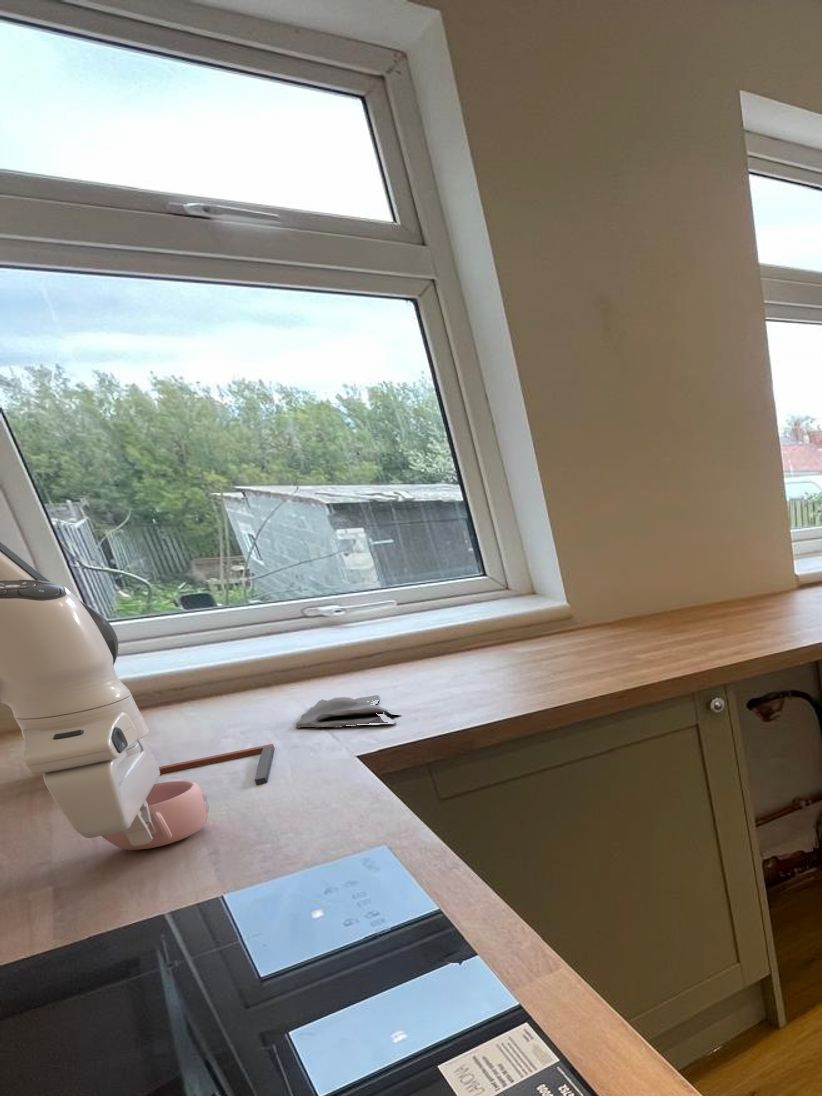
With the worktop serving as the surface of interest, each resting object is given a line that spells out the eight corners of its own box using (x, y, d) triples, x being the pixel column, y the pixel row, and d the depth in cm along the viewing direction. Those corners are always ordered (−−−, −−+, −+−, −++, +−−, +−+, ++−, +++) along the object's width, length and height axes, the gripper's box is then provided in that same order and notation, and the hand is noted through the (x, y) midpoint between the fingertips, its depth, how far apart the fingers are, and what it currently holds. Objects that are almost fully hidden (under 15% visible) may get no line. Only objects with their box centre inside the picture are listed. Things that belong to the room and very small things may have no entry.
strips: (95, 820, 107) (92, 815, 106) (122, 779, 120) (119, 774, 119) (267, 782, 116) (265, 777, 116) (274, 748, 129) (272, 743, 129)
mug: (104, 844, 100) (81, 801, 98) (209, 813, 107) (190, 772, 105) (119, 873, 93) (95, 827, 91) (230, 837, 100) (210, 795, 98)
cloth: (286, 711, 146) (281, 699, 145) (377, 691, 155) (373, 680, 154) (307, 746, 129) (302, 733, 128) (408, 722, 138) (404, 709, 137)
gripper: (71, 712, 95) (126, 817, 100) (17, 765, 79) (85, 885, 85) (145, 700, 98) (194, 801, 104) (106, 748, 83) (166, 865, 88)
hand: (145, 840), depth 94 cm, fingers closed
